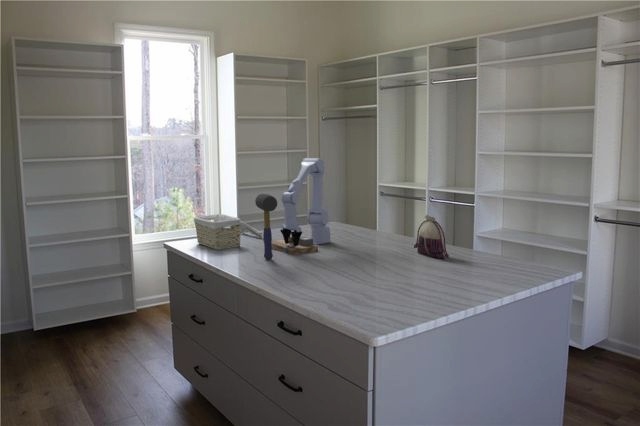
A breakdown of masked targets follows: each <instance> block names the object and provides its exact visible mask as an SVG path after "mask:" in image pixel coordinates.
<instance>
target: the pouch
mask: <svg viewBox="0 0 640 426" xmlns="http://www.w3.org/2000/svg"><path fill="white" fill-rule="evenodd" d="M424 217H425V220H424V221H422V223H420V224H419V227H418V229H417V236H416V243H415V244H414V245H413V249H416V250H417V251H416V252H417V253H418V254H421V255H427V256H431V257H434V258H438V259H442V260H445V259H449V258H450V257H449V256H450V255H449V253H448V252H447V246H446V237H445V233H444V230H443V228H442V226H441V225H440V223H439V222H437V220H436V219H437V217H434V216H430V215H428V214H426V215H425V216H424Z"/></svg>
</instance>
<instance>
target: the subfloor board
mask: <svg viewBox="0 0 640 426" xmlns="http://www.w3.org/2000/svg"><path fill="white" fill-rule="evenodd" d="M271 246H272V249H273V250H275V249H276V250H275V251H278V250H279V251H278V252H281V251H282V253H283V252H284V254H288V255H290V256H291V255H292V256H297V255H303V254H309V253H315V252H318V251H319V246H318V245H316V244H313V245H310V246H301V245H298V246H294V245H293V247H292V248H290V247H289V243H288V244H285V241H284V238H283V239H277V240H276V239H275V240H272V243H271ZM314 251H315V252H314Z"/></svg>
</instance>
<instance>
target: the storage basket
mask: <svg viewBox="0 0 640 426" xmlns="http://www.w3.org/2000/svg"><path fill="white" fill-rule="evenodd" d="M236 217H237V216H231V215H227V214H224V213H223V214H222V213H217V214H216V213H215V214H206V215H200V216H194V217H193V222H194V225H195V232H196V239H197V244H200V245H202V246H205V247H207V248H209V249H213V250H217V251H218V250H224V249H225V250H226V249H230V248H236V247H240V246H241V234H242V233H241V232H240V231H241V230H240V225H241V221H242V220H241V218H239V217H238V218H236Z"/></svg>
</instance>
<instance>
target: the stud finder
mask: <svg viewBox="0 0 640 426" xmlns="http://www.w3.org/2000/svg"><path fill="white" fill-rule="evenodd" d="M298 245H301V246H310V245H314V244H313V239H311V237H307V236H300V239H299V244H298Z"/></svg>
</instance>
